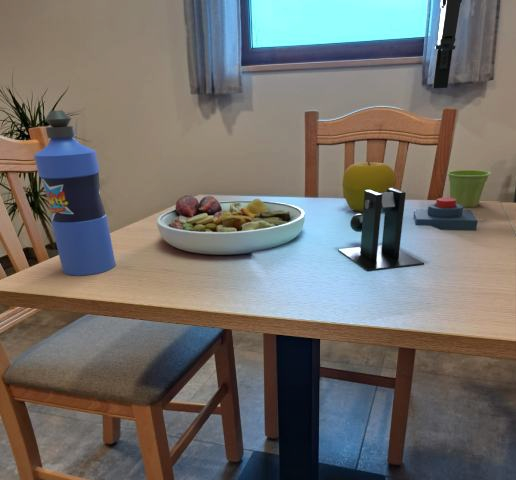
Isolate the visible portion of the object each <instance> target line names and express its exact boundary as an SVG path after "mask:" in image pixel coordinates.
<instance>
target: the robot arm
mask: <svg viewBox="0 0 516 480" xmlns="http://www.w3.org/2000/svg"><path fill="white" fill-rule="evenodd" d="M462 2H463V0H440V4H439V5H440V6H439V7H440V9H441V10H440V18H439V27H438V28H439V29H438V36H437V37H438V38H437V42H436V45H435V46H434V50H436V57H435V66H434V74H433V82H432V89H447V88H448V85H449V78H450V71H451V63H452V58H453V50H454V51H455V49H456V45H455V43H456V39H457V38H456V34H457V28H458V23H459V15H460V9H461V4H462Z"/></svg>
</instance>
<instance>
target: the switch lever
mask: <svg viewBox="0 0 516 480" xmlns="http://www.w3.org/2000/svg"><path fill="white" fill-rule="evenodd" d="M380 194H382V205H381V214H385V213H387V212H388V211H390V210H391V209H392V208H394V207H395V203H394V196H393V192H386V193H380ZM362 221H363V213H356V214H355V215H353V216H352V217H351V219H350V221H349V226H350V228H351V230H352V231H354V232H356V233H362Z"/></svg>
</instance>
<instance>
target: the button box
mask: <svg viewBox="0 0 516 480" xmlns="http://www.w3.org/2000/svg"><path fill="white" fill-rule="evenodd" d="M412 218H413V220H414V224H415V226H427V227H432V228H435V229H438V230H439V231H464V232H465V231H467V232H468V231H471V232H475V231H477V226H478V219H477V217H476V216H475V214H474V213H473V211H472V210H471V209H464V207H463V206H462V205H459V204H456V207H455V208H439V207H436V202H435V203H430V204H428V205H427V209H423V208H421V209H420V208H419V209H418V208H415V209H413V217H412Z"/></svg>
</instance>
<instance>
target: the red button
mask: <svg viewBox="0 0 516 480" xmlns="http://www.w3.org/2000/svg"><path fill="white" fill-rule="evenodd" d="M435 201H436V202H435V203H436V207H439V208H455V207H456V201H457V200H456V199H454V198H450V197H439V198H436V200H435Z"/></svg>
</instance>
